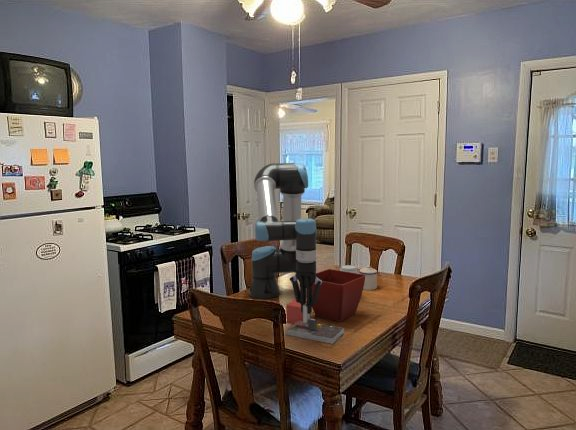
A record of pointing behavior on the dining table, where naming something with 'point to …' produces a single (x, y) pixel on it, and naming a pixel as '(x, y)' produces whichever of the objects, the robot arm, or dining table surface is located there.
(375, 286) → the teacup with lid
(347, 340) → the dining table surface
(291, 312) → the red cube
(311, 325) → the breaker toggle
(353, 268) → the supplement can
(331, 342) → the breaker panel
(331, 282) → the plant pot
